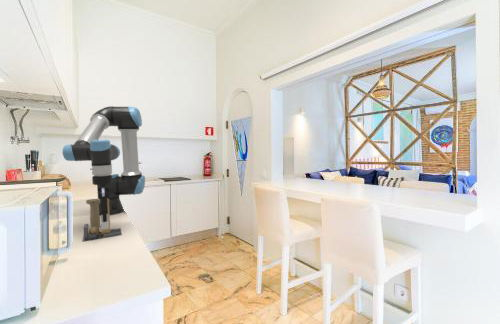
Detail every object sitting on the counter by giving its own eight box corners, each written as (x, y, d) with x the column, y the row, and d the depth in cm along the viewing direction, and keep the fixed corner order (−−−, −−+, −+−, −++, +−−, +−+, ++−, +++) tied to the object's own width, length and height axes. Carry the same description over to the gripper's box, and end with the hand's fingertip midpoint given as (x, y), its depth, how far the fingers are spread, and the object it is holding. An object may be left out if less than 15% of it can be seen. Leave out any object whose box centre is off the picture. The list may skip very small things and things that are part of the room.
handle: (102, 231, 118) (101, 200, 117) (86, 233, 115) (85, 201, 114) (104, 228, 122) (102, 198, 121) (88, 230, 120) (87, 199, 119)
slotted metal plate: (84, 237, 110) (83, 222, 110) (120, 231, 117) (120, 217, 117) (82, 245, 101) (81, 229, 100) (122, 238, 108) (121, 223, 108)
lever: (101, 232, 110) (99, 198, 109) (110, 231, 112) (109, 197, 111) (101, 235, 107) (99, 200, 106) (110, 233, 109) (109, 199, 108)
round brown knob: (91, 234, 109) (91, 225, 109) (101, 233, 110) (101, 225, 109) (87, 237, 105) (86, 228, 105) (97, 237, 106) (97, 227, 105)
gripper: (92, 174, 113) (95, 224, 114) (91, 177, 99) (94, 234, 100) (111, 172, 117) (114, 221, 118) (112, 176, 103) (115, 231, 104)
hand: (105, 227), depth 109 cm, fingers closed on lever, 3 cm apart
